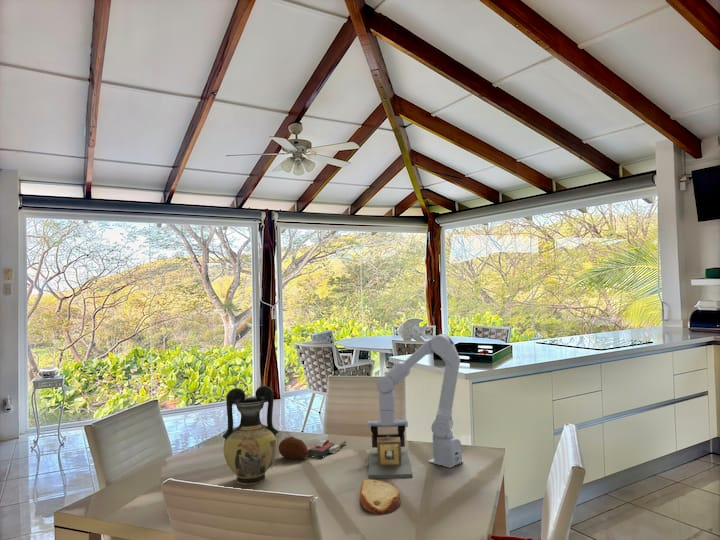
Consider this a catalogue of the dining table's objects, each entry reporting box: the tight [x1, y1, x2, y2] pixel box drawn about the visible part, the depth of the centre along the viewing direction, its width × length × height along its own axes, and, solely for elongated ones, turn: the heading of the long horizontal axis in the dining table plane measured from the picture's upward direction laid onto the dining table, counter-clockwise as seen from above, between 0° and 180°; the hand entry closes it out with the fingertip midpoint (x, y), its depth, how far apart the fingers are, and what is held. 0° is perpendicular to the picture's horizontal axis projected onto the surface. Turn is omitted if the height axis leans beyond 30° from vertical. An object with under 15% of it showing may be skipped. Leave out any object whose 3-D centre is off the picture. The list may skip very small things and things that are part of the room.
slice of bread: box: [359, 478, 402, 516], centre depth 137 cm, size 18×18×4 cm
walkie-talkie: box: [307, 439, 347, 458], centre depth 185 cm, size 9×4×20 cm
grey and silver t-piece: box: [371, 432, 406, 459], centre depth 167 cm, size 22×12×4 cm, turn 178°
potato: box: [278, 436, 309, 460], centre depth 176 cm, size 8×12×8 cm, turn 78°
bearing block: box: [376, 437, 402, 466], centre depth 166 cm, size 6×8×8 cm
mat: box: [368, 449, 413, 479], centre depth 166 cm, size 26×14×1 cm, turn 178°
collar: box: [380, 444, 399, 465], centre depth 160 cm, size 2×6×6 cm, turn 88°
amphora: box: [222, 385, 279, 486], centre depth 157 cm, size 18×17×30 cm
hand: (388, 447), depth 173 cm, fingers open, 7 cm apart
